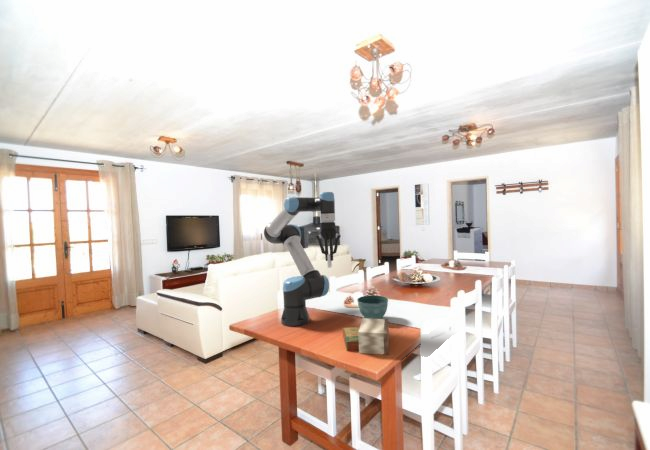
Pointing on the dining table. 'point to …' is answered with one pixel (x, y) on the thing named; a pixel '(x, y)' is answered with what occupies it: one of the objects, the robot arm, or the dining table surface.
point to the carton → (351, 338)
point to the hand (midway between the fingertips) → (329, 267)
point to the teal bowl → (373, 306)
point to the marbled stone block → (373, 336)
